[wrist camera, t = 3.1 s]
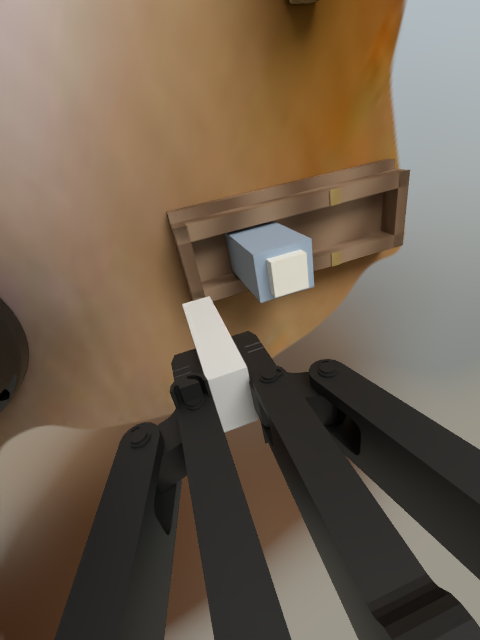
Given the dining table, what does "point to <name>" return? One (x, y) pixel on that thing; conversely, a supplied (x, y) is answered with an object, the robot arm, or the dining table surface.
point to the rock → (302, 1)
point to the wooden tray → (295, 222)
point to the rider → (271, 260)
